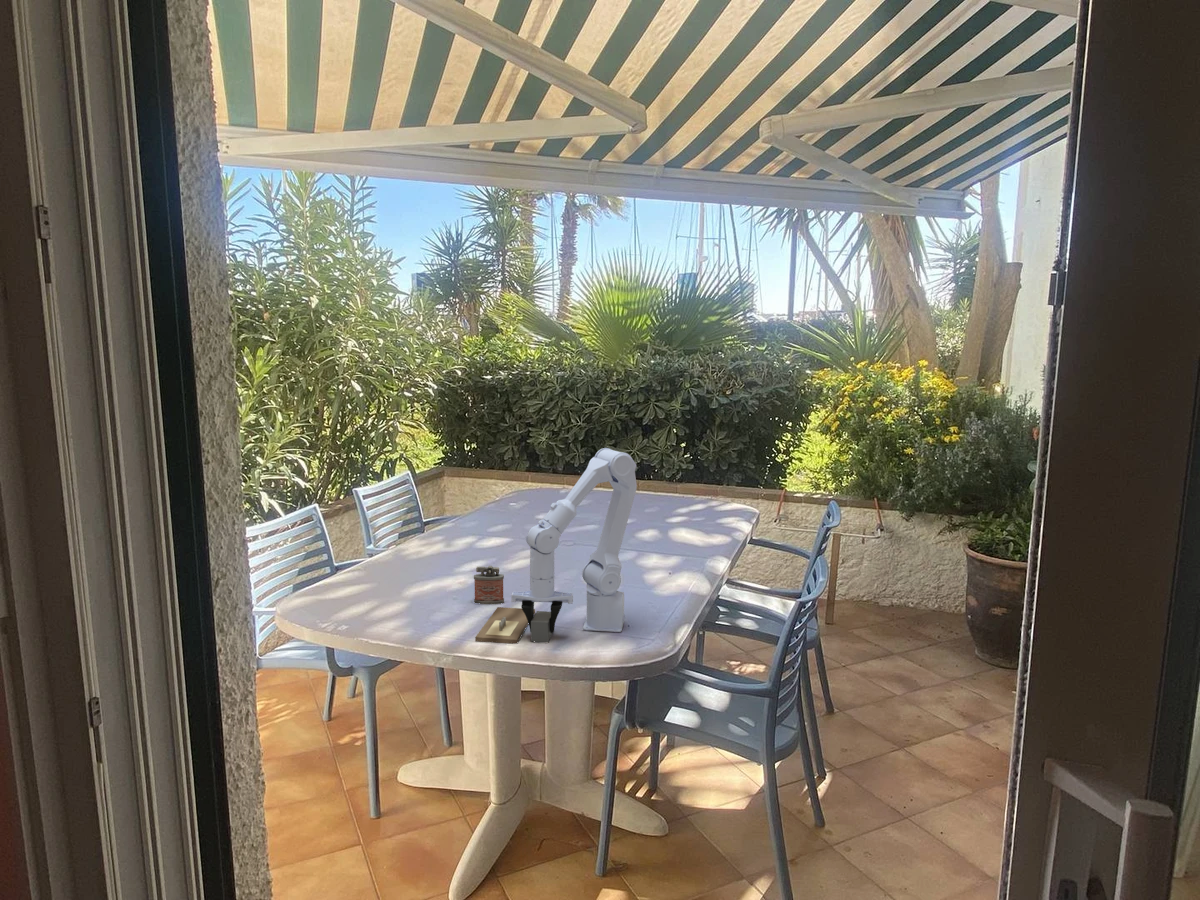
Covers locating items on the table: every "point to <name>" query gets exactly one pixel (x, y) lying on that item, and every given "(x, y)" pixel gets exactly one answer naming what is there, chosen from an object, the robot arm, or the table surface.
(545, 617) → the block
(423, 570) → the table surface
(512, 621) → the pin board
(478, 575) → the lighter
